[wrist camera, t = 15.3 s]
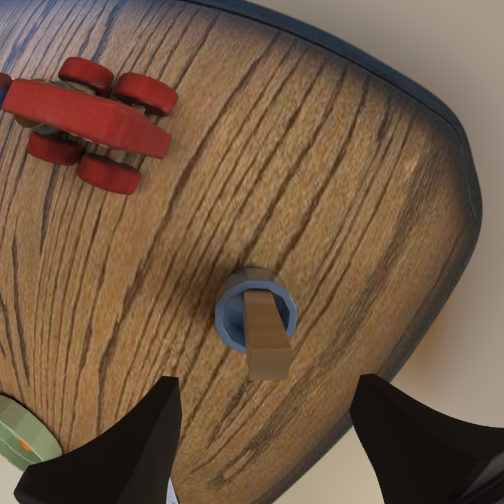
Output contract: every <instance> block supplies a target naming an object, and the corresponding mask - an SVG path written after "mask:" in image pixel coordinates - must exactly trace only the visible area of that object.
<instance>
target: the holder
mask: <svg viewBox="0 0 504 504" xmlns="http://www.w3.org/2000/svg"><path fill="white" fill-rule="evenodd" d="M249 288H256V289H269V290H270V291H271V294H272V296H273V299H274V302H275V304H276V307H277V310H278V312H279V315H280V318H281V321H282V323H283V326H284V329H285V331H286V334H287V337H288V338H289V337H290V335H291V334H292V333H293V332H294V330H295V327H296V319H297V308H296V306H295V304H294V302H293V299H292V297H291V295H290V293H289V291H288V290H287V288H286V286H285V284H284V282H283V280H282V279H281V278H279V277H278V276H277V275H276V274H274V273H273V272H271V271H269V270H266V269H263V268H258V267H249V268H244V269H241V270H238V271H236V272H234V273H233V274H231V275H230V276H229V277H228V278H227V279H226V280H225V281H224V282H223V283H222V285H221V287H220V289H219V291H218V293H217V298H216V305H215V329H216V330H217V332H218V334H219V335H220V337H221V338H222V340H223V342H224V343H225V344H226V345H227V346H229V347H231V348H233V349H235V350H237V351H239V352H241V353H244V354H246V343H245V332H244V321H243V310H242V292H243V291H245V290H247V289H249Z"/></svg>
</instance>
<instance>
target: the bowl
mask: <svg viewBox="0 0 504 504" xmlns="http://www.w3.org/2000/svg"><path fill="white" fill-rule="evenodd" d="M18 437H19V438H20V439H21V440H22V441H23V442H24V443H25V444H26V445H28V446H29V447H30V448H31V450H32V451H29V450H27V449H25V448H24V447H23V446H22V445H21V443H20V442H19V438H18ZM0 454H1V455H2V456H3V457H4V458H5V459H6V460H8V462H10V463H11V464H12V465H14V466H15V467H16V468H18V469H19V470H21V471H22V472H24V471H25V470H26V468H27V467H28V465H32V464H36V463H40V462H43V461H47V460H50V459H53V458H56V457H59V456H61V455H62V450H61V448H60V446H59V444H58V442H57V440H56V439H55V438H54V436H53V435H52V434H51V433H50V432H49V431H48V429H47V428H46V427H45V426H44V425H43V424H42V423H41V422H40V421H39V420H38V419H37V418H36V417H35V416H34V415H33V414H31V413H30V412H29V411H28V410H27V409H25V408H24V407H22V406H21V405H20V404H18V403H17V402H15V401H14V400H12V399H10V398H8V397H5V396H3V395H1V394H0Z"/></svg>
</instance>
